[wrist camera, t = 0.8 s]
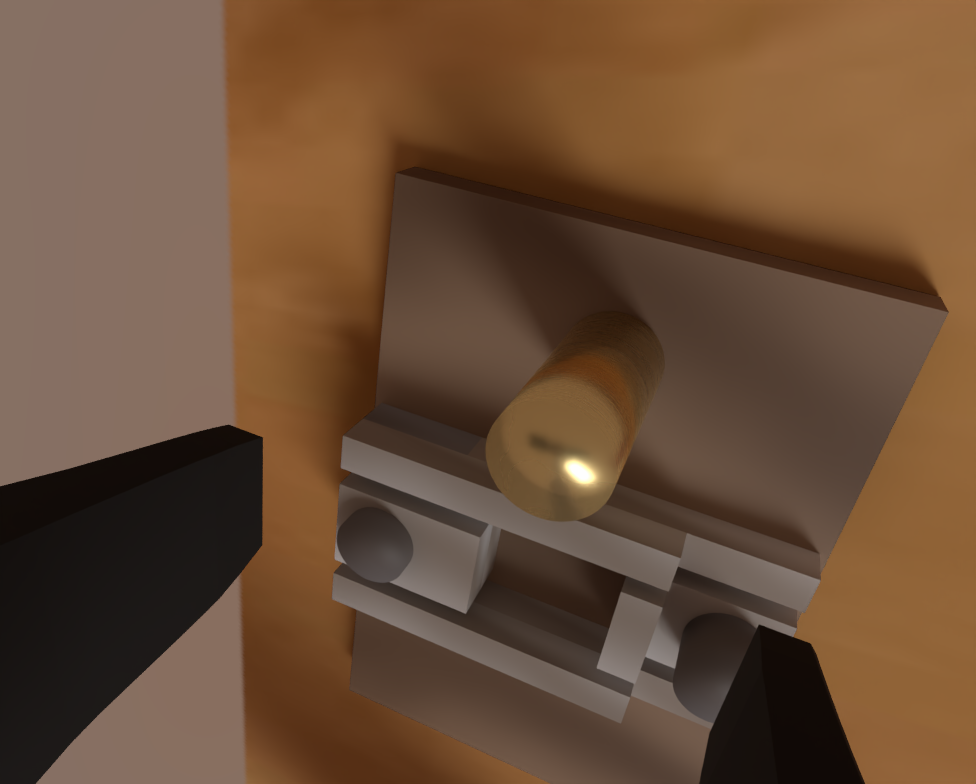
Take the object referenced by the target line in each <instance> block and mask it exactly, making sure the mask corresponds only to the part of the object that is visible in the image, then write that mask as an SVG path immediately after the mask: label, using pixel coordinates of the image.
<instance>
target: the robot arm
mask: <svg viewBox="0 0 976 784" xmlns="http://www.w3.org/2000/svg"><path fill="white" fill-rule="evenodd" d="M262 493H263V437H260V436H257V435H255V434H252V433H249V432H247V431H244V430H241V429H239V428H236V427H233V426H231V425H225V426H220V427H216V428H212V429H207V430H203V431H199V432H196V433H192V434H188V435H185V436H181V437H177V438H174V439H171V440H167V441H163V442H160V443H156V444H153V445H150V446H146V447H143V448H139V449H136V450H133V451H129V452H126V453H122V454H119V455H115V456H112V457H109V458H105V459H101V460H98V461H95V462H91V463H88V464H84V465H81V466H77V467H74V468H70V469H66V470H63V471H59V472H55V473H51V474H47V475H43V476H39V477H35V478H31V479H28V480H24V481H20V482H16V483H12V484H8V485H4V486H0V784H36V782H37V781H38V780H39V779H40V778H41V777H42V776H43V774H44V773H45V772H46V771H47V770H48V769H49V768H50V767H51V765H52V764H53V763H54V762H55V761H56V760H57V759H58V757H59V756H60V755H61V754H62V753H63V752H64V750H65V749H66V748H67V747H68V746H69V745H70V744H71V743H72V741H73V740H74V739H75V738H76V737H77V736H78V735H79V734H80V733H81V732H82V731H83V730H84V729H85V728H86V727H87V726H88V725H89V724H90V723H91V722H92V721H93V720H94V719H95V718H96V717H97V716H98V715H99V714H100V713H101V712H102V711H103V710H104V709H105V708H106V707H107V706H108V705H109V704H110V703H111V702H112V701H113V700H114V699H115V698H117V697H118V696H119V695H120V694H121V693H122V692H123V691H124V690H125V689H126V688H127V687H128V686H129V685H130V684H131V683H132V682H133V681H134V680H135V679H137V678H138V677H139V676H140V675H141V674H142V673H143V672H144V671H145V670H146V669H147V668H148V667H149V666H150V665H151V664H152V663H153V662H154V661H155V660H156V659H157V658H159V657H160V656H161V655H162V654H163V653H164V652H165V651H166V650H167V649H168V648H169V647H170V646H171V645H172V644H173V643H174V642H175V641H176V640H177V639H179V638H180V637H181V636H182V634H183V633H185V632H186V631H187V630H188V629H189V628H190V627H191V626H192V625H193V624H194V623H195V622H196V621H197V620H198V619H199V618H200V617H201V616H202V615H203V614H204V613H205V612H206V611H207V610H208V609H209V608H210V607H211V606H212V605H213V604H214V603H215V602H216V601H217V600H218V599H219V598H220V597H221V596H222V595H223V594H224V592H225V591H226V590H227V589H228V587H229V586H230V585H231V584H232V583H233V581H234V580H235V579H236V578H237V577H238V576H239V574H240V573H241V572H242V570H243V569H244V568H245V567H246V565H247V564H248V563H249V561H250V560H251V559H252V557H253V556H254V555H255V554H256V552H257V551H258V550H259V548H260V547H261V546H262ZM699 784H865V782H864V780H863V778H862V775H861V773H860V770H859V768H858V765H857V763H856V761H855V758H854V756H853V753H852V751H851V748H850V745H849V743H848V740H847V738H846V735H845V732H844V730H843V727H842V725H841V722H840V719H839V717H838V714H837V711H836V709H835V706H834V703H833V701H832V698H831V695H830V692H829V689H828V687H827V684H826V681H825V678H824V675H823V672H822V669H821V667H820V664H819V661H818V658H817V655H816V653H815V651H814V649H813V647H812V645H811V644H810V643H808V642H805V641H802V640H800V639H797V638H794V637H792V636H789V635H786V634H784V633H781V632H778V631H776V630H773V629H770V628H768V627H765V626H762V625H760V624H759V625H758V627H757V629H756V632H755V634H754V636H753V638H752V640H751V643H750V645H749V647H748V649H747V651H746V654H745V656H744V658H743V660H742V662H741V665H740V667H739V669H738V671H737V673H736V676H735V678H734V680H733V682H732V684H731V687H730V689H729V691H728V693H727V695H726V698H725V700H724V702H723V704H722V706H721V709H720V711H719V713H718V715H717V717H716V720H715V722H714V724H713V726H712V728H711V731H710V733H709V737H708V742H707V747H706V752H705V757H704V762H703V767H702V771H701V776H700V782H699Z"/></svg>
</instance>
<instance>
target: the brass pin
mask: <svg viewBox="0 0 976 784" xmlns="http://www.w3.org/2000/svg"><path fill="white" fill-rule="evenodd" d="M664 368H665V358H664V352H663V348H662V346H661V343H660V341H659V339H658V338H657V336H656V334H655V333H654V332H653V331H652V329H651V328H650V327H649V326H648V325H646V324H645V323H644V322H643V321H641V320H639V319H638V318H636V317H634V316H632V315H630V314H626V313H623V312H618V311H602V312H597V313H594V314H591V315H588V316H587V317H585V318H583V319H582V320H580V321H579V322H578V323H577V324H576V325H574V327H573V328H572V329H571V330H570V331H569V333H568V334H567V335H566V336H565V337H564V339H563V340H562V341H561V342H560V343H559V345H558V346H557V347H556V348H555V350H554V351H553V352H552V353H551V354H550V356H549V357H548V358H547V359H546V360H545V362H544V363H543V364H542V365H541V366H540V368H539V369H538V370H537V371H536V372H535V374H534V375H533V376H532V377H531V378H530V380H529V381H528V382H527V383H526V385H525V386H524V387H523V388H522V389H521V391H520V392H519V393H518V394H517V395H516V397H515V398H514V399H513V400H512V401H511V403H510V404H509V405H508V406H507V407H506V409H505V410H504V411H503V412H502V413H501V415H500V416H499V417H498V418H497V420H496V421H495V422H494V423H493V425H492V427H491V429H490V431H489V434H488V436H487V441H486V450H485V452H486V461H487V466H488V469H489V472H490V474H491V476H492V478H493V480H494V482H495V484H496V485H497V487H498V488H499V490H500V491H501V492H502V493H503V495H504V496H505V497H506V498H507V499H508V500H509V501H511V502H512V503H513V504H514V505H515V506H517V507H518V508H520V509H521V510H523V511H525V512H527V513H529V514H531V515H533V516H536V517H538V518H541V519H545V520H550V521H557V522H568V521H575V520H580V519H583V518H586V517H588V516H590V515H592V514H594V513H595V512H597V511H598V510H599V509H601V508H602V507H603V506H604V505H605V504H606V502H607V501H608V499H609V498H610V496H611V494H612V492H613V490H614V488H615V486H616V483H617V481H618V479H619V476H620V474H621V472H622V469H623V467H624V465H625V463H626V460H627V458H628V456H629V453H630V451H631V449H632V446H633V444H634V442H635V440H636V437H637V435H638V433H639V430H640V428H641V426H642V423H643V421H644V419H645V416H646V414H647V412H648V410H649V407H650V405H651V403H652V400H653V398H654V396H655V393H656V391H657V389H658V387H659V384H660V382H661V380H662V377H663V374H664Z"/></svg>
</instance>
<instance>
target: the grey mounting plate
mask: <svg viewBox="0 0 976 784" xmlns="http://www.w3.org/2000/svg"><path fill="white" fill-rule="evenodd" d="M602 311H618V312H623V313H626V314H630V315H632V316H634V317H636V318H638V319H639V320H641V321H643V322H644V323H645V324H646V325H648V326H649V327H650V328H651V329H652V331H653V332H654V333H655V334H656V336H657V338H658V339H659V341H660V343H661V346H662V348H663V352H664V358H665V368H664V374H663V377H662V380H661V382H660V384H659V387H658V389H657V391H656V393H655V396H654V398H653V400H652V403H651V405H650V407H649V410H648V412H647V414H646V416H645V419H644V421H643V423H642V426H641V428H640V430H639V433H638V435H637V437H636V440H635V442H634V444H633V446H632V449H631V451H630V453H629V456H628V458H627V460H626V463H625V465H624V467H623V469H622V472H621V474H620V476H619V479H618V481H617V483H616V486H615V488H614V490H613V492H612V494H611V496H610V498H609V499H608V501H607V502H606V504H605V505H604V506H603V507H602V508H601V509H599V510H598V511H597V512H595V513H594V514H592V515H590V516H588V517H586V518H583V519H580V520H575V521H568V522H557V521H550V520H545V519H541V518H538V517H536V516H533V515H531V514H529V513H527V512H525V511H523V510H521V509H520V508H518V507H517V506H515V505H514V504H513V503H512V502H511V501H509V500H508V499H507V498H506V497H505V496H504V495H503V493H502V492H501V491H500V490H499V488H498V487H497V485H496V484H495V482H494V480H493V478H492V476H491V474H490V472H489V469H488V466H487V461H486V452H485V450H486V441H487V436H488V434H489V431H490V429H491V427H492V425H493V423H494V422H495V421H496V420H497V418H498V417H499V416H500V415H501V413H502V412H503V411H504V410H505V409H506V407H507V406H508V405H509V404H510V403H511V401H512V400H513V399H514V398H515V397H516V395H517V394H518V393H519V392H520V391H521V389H522V388H523V387H524V386H525V385H526V383H527V382H528V381H529V380H530V378H531V377H532V376H533V375H534V374H535V372H536V371H537V370H538V369H539V368H540V366H541V365H542V364H543V363H544V362H545V360H546V359H547V358H548V357H549V356H550V354H551V353H552V352H553V351H554V350H555V348H556V347H557V346H558V345H559V343H560V342H561V341H562V340H563V339H564V337H565V336H566V335H567V334H568V333H569V331H570V330H571V329H572V328H573V327H574V325H576V324H577V323H578V322H579V321H580V320H582V319H583V318H585V317H587V316H588V315H591V314H594V313H597V312H602ZM948 313H949V312H948V310H947V308H946V306H945V305H944V303H943V301H942V299H941V297H938V296H934V295H930V294H926V293H922V292H917V291H913V290H909V289H905V288H901V287H897V286H893V285H889V284H885V283H881V282H877V281H873V280H869V279H865V278H861V277H857V276H853V275H849V274H845V273H841V272H837V271H833V270H829V269H825V268H821V267H817V266H813V265H809V264H805V263H801V262H797V261H792V260H788V259H784V258H780V257H776V256H772V255H768V254H764V253H760V252H756V251H752V250H748V249H744V248H740V247H736V246H732V245H728V244H724V243H720V242H716V241H712V240H708V239H704V238H700V237H696V236H692V235H688V234H684V233H680V232H676V231H672V230H667V229H663V228H659V227H655V226H651V225H647V224H643V223H639V222H635V221H631V220H627V219H623V218H619V217H615V216H611V215H607V214H603V213H599V212H595V211H591V210H587V209H583V208H579V207H575V206H571V205H567V204H563V203H559V202H555V201H551V200H547V199H543V198H538V197H534V196H530V195H526V194H522V193H518V192H514V191H510V190H506V189H502V188H498V187H494V186H490V185H486V184H482V183H478V182H474V181H470V180H466V179H462V178H458V177H454V176H450V175H446V174H442V173H438V172H434V171H430V170H426V169H422V168H418V167H413V168H410V169H406V170H403V171H400V172H397V173H396V175H395V187H394V198H393V209H392V220H391V231H390V242H389V254H388V265H387V276H386V287H385V298H384V309H383V321H382V332H381V343H380V354H379V365H378V376H377V387H376V399H375V409H374V410H373V411H371V412H370V413H369V414H368V415H367V416H365V417H364V418H363V419H362V420H361V421H360V422H358V423H357V424H356V425H355V426H354V427H352V428H351V429H350V430H349V431H348V432H347V433H345V434H344V435H343V441H342V456H341V468H342V469H344V470H347V471H350V472H352V473H351V474H350V475H348V476H347V477H346V478H345V479H344V480H343V481H342V482H341V483H340V486H339V501H338V516H337V531H336V546H335V560H337V561H340V562H342V564H341V565H340V566H339V568H338V569H337V570H336V571H335V572H334V576H333V591H332V599H333V600H336V601H338V602H340V603H342V604H345V605H347V606H349V607H352V608H354V609H356V610H357V611H356V622H355V633H354V644H353V655H352V666H351V677H350V689H349V690H351V691H353V692H355V693H357V694H359V695H361V696H364V697H366V698H368V699H370V700H372V701H374V702H376V703H379V704H381V705H383V706H385V707H387V708H389V709H391V710H394V711H396V712H398V713H400V714H402V715H404V716H407V717H409V718H411V719H413V720H415V721H417V722H419V723H422V724H424V725H426V726H428V727H430V728H432V729H434V730H437V731H439V732H441V733H443V734H445V735H447V736H450V737H452V738H454V739H456V740H458V741H460V742H462V743H465V744H467V745H469V746H471V747H473V748H475V749H477V750H480V751H482V752H484V753H486V754H488V755H490V756H493V757H495V758H497V759H499V760H501V761H503V762H505V763H508V764H510V765H512V766H514V767H516V768H518V769H520V770H523V771H525V772H527V773H529V774H531V775H533V776H536V777H538V778H540V779H542V780H544V781H546V782H548V783H551V784H699V782H700V776H701V771H702V767H703V762H704V757H705V752H706V747H707V742H708V737H709V733H710V731H711V728H712V726H713V724H714V722H715V720H716V717H717V715H718V713H719V711H720V709H721V706H722V704H723V702H724V700H725V698H726V695H727V693H728V691H729V689H730V687H731V684H732V682H733V680H734V678H735V676H736V673H737V671H738V669H739V667H740V665H741V662H742V660H743V658H744V656H745V654H746V651H747V649H748V647H749V645H750V643H751V640H752V638H753V636H754V634H755V632H756V629H757V627H758V625H759V624H760V625H762V626H765V627H768V628H770V629H773V630H776V631H778V632H781V633H784V634H786V635H789V636H792V637H793V636H794V634H795V632H796V630H797V621H798V619H799V617H800V615H801V613H802V612H803V613H805V611H806V609H807V607H808V605H809V603H810V601H811V599H812V597H813V595H814V593H815V591H816V589H817V587H818V585H819V583H820V581H821V572H822V570H823V568H824V566H825V564H826V562H827V560H828V558H829V556H830V554H831V552H832V550H833V548H834V546H835V544H836V542H837V540H838V537H839V535H840V533H841V531H842V529H843V527H844V525H845V523H846V521H847V519H848V517H849V515H850V513H851V511H852V509H853V507H854V505H855V503H856V501H857V499H858V497H859V495H860V493H861V490H862V488H863V486H864V484H865V482H866V480H867V478H868V476H869V474H870V472H871V470H872V468H873V466H874V464H875V462H876V460H877V458H878V456H879V454H880V452H881V450H882V448H883V445H884V443H885V441H886V439H887V437H888V435H889V433H890V431H891V429H892V427H893V425H894V423H895V421H896V419H897V417H898V415H899V413H900V411H901V409H902V407H903V405H904V403H905V401H906V398H907V396H908V394H909V392H910V390H911V388H912V386H913V384H914V382H915V380H916V378H917V376H918V374H919V372H920V370H921V368H922V366H923V364H924V362H925V360H926V358H927V356H928V353H929V351H930V349H931V347H932V345H933V343H934V341H935V339H936V337H937V335H938V333H939V331H940V329H941V327H942V325H943V323H944V321H945V319H946V317H947V315H948Z"/></svg>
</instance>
